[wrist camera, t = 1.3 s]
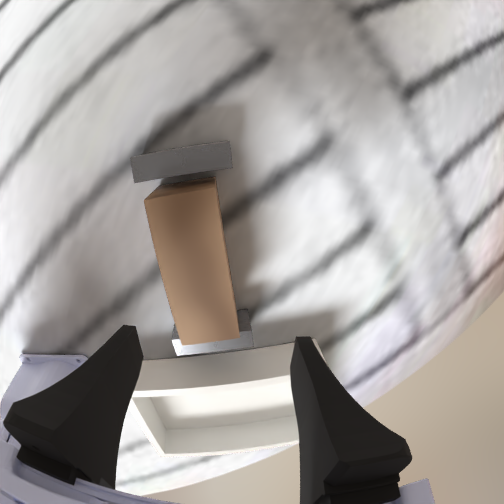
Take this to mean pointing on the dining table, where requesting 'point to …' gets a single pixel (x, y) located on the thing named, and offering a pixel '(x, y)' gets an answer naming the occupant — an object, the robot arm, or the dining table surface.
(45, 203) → the dining table surface
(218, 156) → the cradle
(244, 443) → the bin
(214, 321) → the wooden block
